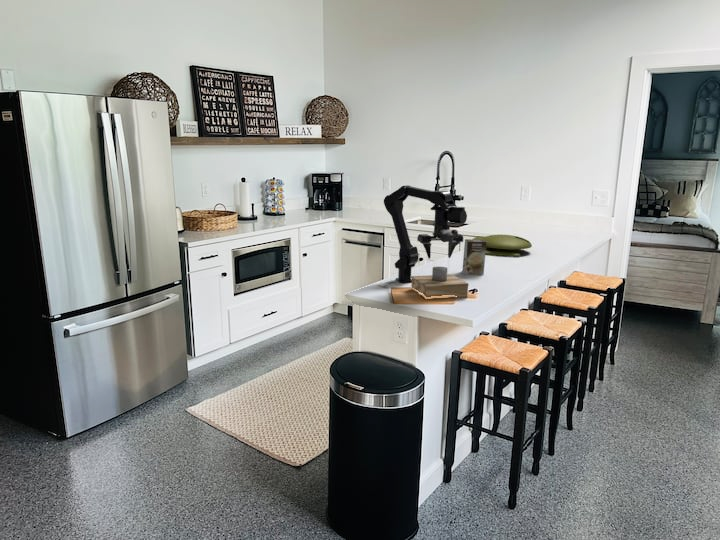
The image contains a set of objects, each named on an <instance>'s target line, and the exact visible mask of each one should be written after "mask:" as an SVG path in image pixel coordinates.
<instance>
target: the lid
mask: <svg viewBox="0 0 720 540" xmlns="http://www.w3.org/2000/svg"><path fill="white" fill-rule="evenodd" d="M412 278H413V279H414V280H416V281H417V282H419V283H420V284H422V285H423V286H425V287H442V286H461V285H468V286H469V282H466V281H464V280H462V279H461V278H459V277H457V276H455V275H454V274H452V273H451V274H450V273H449V274H447V281H445V282H437V281H433V280H432V275H411V279H412Z"/></svg>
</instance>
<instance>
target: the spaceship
mask: <svg viewBox="0 0 720 540" xmlns="http://www.w3.org/2000/svg"><path fill="white" fill-rule="evenodd" d="M472 239H473V240H484V241H486V253H485V256H494V255H496V256H497V257H507V256H513V257H512V258H520V257H521V253H518V252H514V251H513V252H509V251H497V250H488V249H490V248H491V249H503V250H527V249H530V248H532V247H533V246H532V243H531V241H529V240H528V239H526V238H523V237H521V236H516V235H510V234H492V235H491V234H490V235H486V236H484V235H482V236H481V235H477V236H475V237H473V238H472ZM519 256H520V257H519Z"/></svg>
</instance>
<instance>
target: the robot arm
mask: <svg viewBox="0 0 720 540" xmlns="http://www.w3.org/2000/svg"><path fill="white" fill-rule="evenodd" d="M408 197H413V198H416V199H417V198H418V199H421V200H426V201H429V202H430V203H432V204H433V206H432V207H431V208H430V211H434V222H433V223H432V226H433V228H434V229H433V232H432V235H429V234H427V233H426V234H425V233H421V234H418V235H417V238H416V239H417V242H418V243H419V242H420V244H422V246H423V247H424V250H425V253H426V255H427V258H428V260H429V259H430V260H431V254H432V253H431V247H432V243H431V242H432V241H441V242H442V243H447V242H448V246H447V248H448V249H447V250H448V251H447V255H448V258H449V259H450V258H451V257H452V255H453V252H454V250H455V248H456V246H457V245H460V244H461V243H463V242H464V235H462V234H460V233H459V232H458V231H459V230H458V229H451V228H450V224H459V225H464V224H466V223H467V222H466V221H467V219H468V214H467V211H466V210H465V209H466V208H465V207H463V206H457V205H456V202H455V201H454V200H453V195H452V194H451V192H450V191H448V190H429V189H425V188H420V187H416V186H411V185H408V184H407V185H402V186H401V187H399V188H398V189H397V190H395V191H393V192H392V193H390V194H388V195H385V197H384V198H383V205H384V208H385V209H386V211H387V213H389V215H390V216H391V218H392V223H393V226H394V229H395V233H396V236H397V240H398V244H399V250H398V251H399V252H398V257H399V259H398V260H397V261H396V262H395V263H394V268H395V269H398V272H397V273H398V274H397V276H398V277H396V278H395V280H396V281H397V282H399V283H401V282H402V283H410V282H409V281H412V278H411V276H412V268H414V267H416V264H417V262H418V261H419V259H420V258H419V256H420V254H419V251H418V247H417V246H413V245H412V243H411V240H410V236H409V232H408V228H407V225H406V222H405V219H404V215H403V210H404V202H405V201H406V200H407V198H408ZM449 223H450V224H449Z"/></svg>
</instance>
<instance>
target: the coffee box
mask: <svg viewBox="0 0 720 540" xmlns="http://www.w3.org/2000/svg"><path fill="white" fill-rule="evenodd" d="M473 239H474V238H472V239H468V238H467V239H466V238H465V239H464V249H463V259H462V273H463V274H465V275H475V276H476V275H477V276H478V275H480V276H481V275H484V274H485V262H486V255H485V253H486V241H484V240H473Z"/></svg>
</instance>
